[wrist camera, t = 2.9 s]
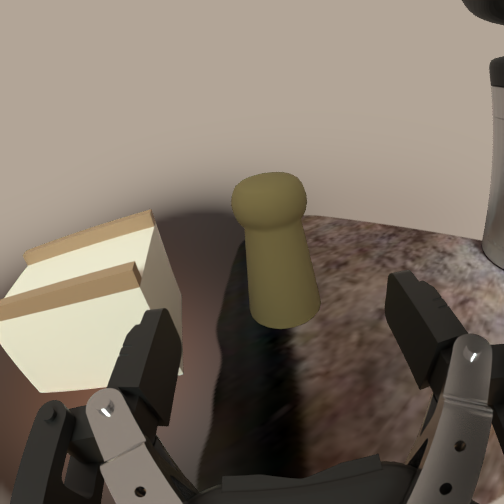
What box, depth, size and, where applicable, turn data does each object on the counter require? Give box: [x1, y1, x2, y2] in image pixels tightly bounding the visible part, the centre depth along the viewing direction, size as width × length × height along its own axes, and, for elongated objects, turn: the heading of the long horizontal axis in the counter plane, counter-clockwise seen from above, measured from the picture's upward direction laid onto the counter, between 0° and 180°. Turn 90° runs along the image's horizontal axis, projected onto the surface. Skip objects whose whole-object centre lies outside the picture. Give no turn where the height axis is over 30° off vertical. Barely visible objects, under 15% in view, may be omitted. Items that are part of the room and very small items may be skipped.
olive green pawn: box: [231, 172, 321, 329], centre depth 23 cm, size 6×6×11 cm
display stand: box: [0, 210, 183, 393], centre depth 22 cm, size 14×10×9 cm
